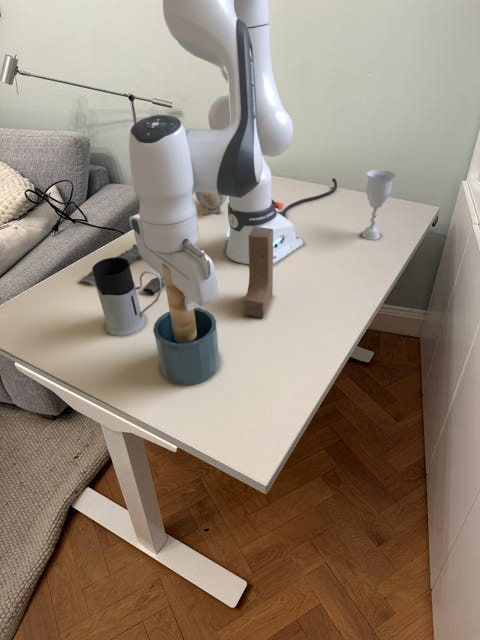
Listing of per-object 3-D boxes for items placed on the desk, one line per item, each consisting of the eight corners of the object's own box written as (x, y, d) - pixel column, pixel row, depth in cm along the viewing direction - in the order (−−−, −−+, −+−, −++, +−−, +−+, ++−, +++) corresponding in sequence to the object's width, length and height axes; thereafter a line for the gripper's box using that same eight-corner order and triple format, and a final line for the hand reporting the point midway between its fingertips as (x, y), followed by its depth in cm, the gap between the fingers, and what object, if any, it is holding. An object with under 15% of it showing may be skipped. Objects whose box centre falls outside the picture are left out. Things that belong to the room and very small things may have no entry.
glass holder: (111, 311, 102) (96, 256, 93) (171, 311, 101) (162, 255, 92) (100, 336, 95) (83, 278, 86) (165, 335, 95) (154, 277, 85)
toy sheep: (199, 220, 139) (196, 187, 132) (194, 200, 152) (191, 168, 145) (232, 217, 140) (230, 183, 133) (224, 197, 153) (222, 165, 146)
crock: (198, 337, 94) (193, 299, 87) (230, 366, 86) (228, 327, 80) (151, 361, 88) (142, 323, 82) (181, 394, 81) (174, 355, 75)
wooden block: (263, 318, 98) (263, 248, 87) (244, 315, 99) (241, 245, 88) (272, 296, 105) (273, 228, 93) (254, 293, 106) (253, 226, 95)
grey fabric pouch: (92, 289, 110) (90, 282, 109) (75, 280, 113) (73, 274, 112) (151, 255, 123) (150, 248, 122) (135, 248, 126) (133, 242, 125)
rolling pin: (188, 325, 85) (179, 253, 75) (201, 336, 82) (193, 263, 72) (169, 334, 83) (157, 261, 73) (181, 346, 80) (170, 272, 70)
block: (143, 294, 107) (141, 288, 106) (153, 281, 112) (152, 275, 111) (156, 296, 106) (155, 290, 105) (166, 283, 111) (165, 277, 110)
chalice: (356, 238, 126) (364, 177, 114) (360, 228, 131) (369, 168, 119) (382, 242, 123) (393, 180, 112) (385, 232, 128) (396, 171, 117)
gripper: (225, 247, 64) (229, 321, 72) (156, 205, 77) (167, 271, 85) (189, 261, 61) (198, 336, 69) (124, 215, 74) (138, 283, 82)
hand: (180, 300), depth 78 cm, fingers closed on rolling pin, 4 cm apart
